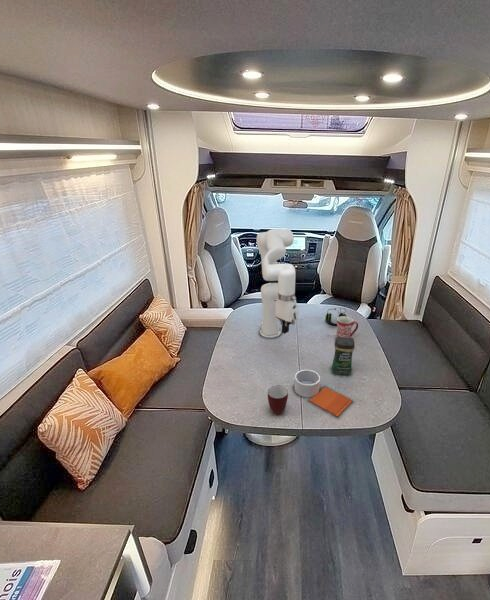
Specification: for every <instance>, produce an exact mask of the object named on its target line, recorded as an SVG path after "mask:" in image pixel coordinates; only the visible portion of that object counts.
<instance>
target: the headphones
mask: <svg viewBox="0 0 490 600" xmlns="http://www.w3.org/2000/svg"><path fill="white" fill-rule="evenodd" d="M343 309H344V311H343V312H342V307H340V308H339V310H340V311H339V313H338V317H341V316H346V317H348V316H347V315H346V312H347V310H346V308H345V307H343ZM330 310H335V311H336V310H337V308H336V307H335V308H329V309H328V311H326V312H327V313H326V314H325V318H324V320H325V322H326V324H327V325H329V326H331V327H335V328H337V323H335V322H332V316H333V314H332V313H329V311H330Z"/></svg>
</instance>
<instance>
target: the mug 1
mask: <svg viewBox="0 0 490 600" xmlns="http://www.w3.org/2000/svg"><path fill="white" fill-rule="evenodd" d="M288 397H289V391H288V389H287V388H286V387H285V386H283V385H281V384H280V385H278V384H277V385H273V386H271V387H269V388H268V390H267V402H268V406H269V409H270V410H271V412H272V413H273V414H274V415H278V416H279V415H281V414H282V413H283V412H284V411H285V409H286V406H287V402H288Z"/></svg>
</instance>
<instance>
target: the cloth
mask: <svg viewBox="0 0 490 600" xmlns="http://www.w3.org/2000/svg"><path fill="white" fill-rule="evenodd" d="M309 402H311V403H312V404H314V405H316V406H317V407H319V408H321V409H323V410H325V411H326V412H328V413H330V414H332V415H333V416H335V417H336V418H337V417H338V416H340V415H341V413H343V411H345V409H346V408H348V406H349V405H350V404H351V403H352V402H353V401H352V400H351V399H350V398H349V397H347V396H345V395H343V394H342V393H338V392H336V391H334V390H332V389H330V388H328V387H326V386H324V387H323V388H322V389H321V390H319V392H318V393H317V394H316V395H315V396H313V397H311V398H310V399H309Z"/></svg>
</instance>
